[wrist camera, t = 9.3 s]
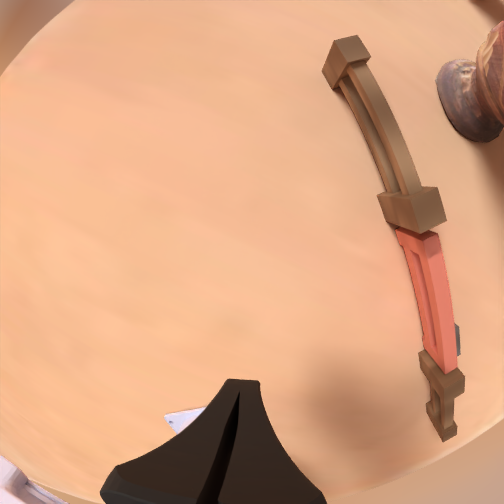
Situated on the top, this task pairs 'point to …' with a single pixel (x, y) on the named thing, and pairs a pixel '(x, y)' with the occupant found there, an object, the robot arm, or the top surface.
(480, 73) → the mortar and pestle
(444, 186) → the top surface
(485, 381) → the top surface
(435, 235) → the gate
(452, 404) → the fence
